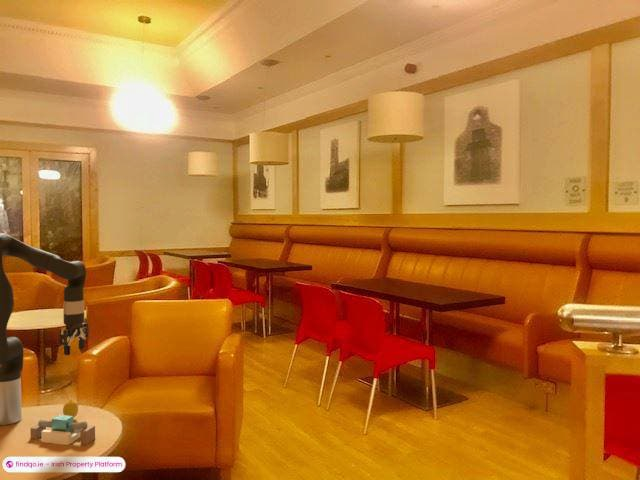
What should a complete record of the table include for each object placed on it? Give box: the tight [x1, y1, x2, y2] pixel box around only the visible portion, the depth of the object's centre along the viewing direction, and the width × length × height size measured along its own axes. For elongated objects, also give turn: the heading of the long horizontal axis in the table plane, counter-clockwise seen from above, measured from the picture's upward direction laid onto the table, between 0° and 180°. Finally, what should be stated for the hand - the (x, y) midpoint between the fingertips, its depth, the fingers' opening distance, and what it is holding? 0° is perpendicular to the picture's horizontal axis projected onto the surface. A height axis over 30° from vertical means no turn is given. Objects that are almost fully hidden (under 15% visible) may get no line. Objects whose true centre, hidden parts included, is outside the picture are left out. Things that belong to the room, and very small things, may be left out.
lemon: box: [62, 399, 79, 419], centre depth 211 cm, size 6×6×8 cm
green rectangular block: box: [51, 414, 74, 433], centre depth 194 cm, size 6×4×6 cm, turn 78°
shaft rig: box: [29, 419, 96, 446], centre depth 194 cm, size 23×9×7 cm, turn 78°
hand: (74, 352), depth 208 cm, fingers open, 8 cm apart
